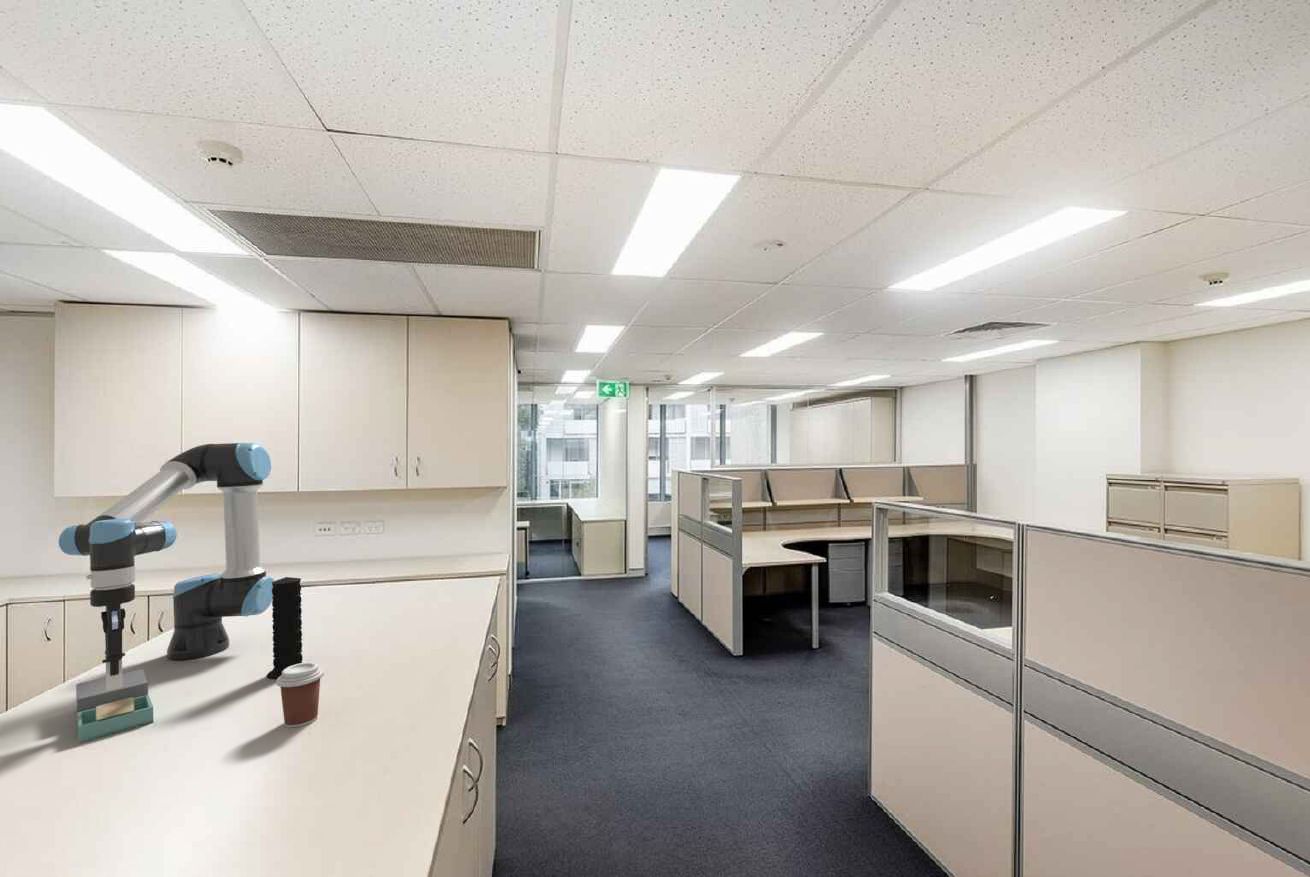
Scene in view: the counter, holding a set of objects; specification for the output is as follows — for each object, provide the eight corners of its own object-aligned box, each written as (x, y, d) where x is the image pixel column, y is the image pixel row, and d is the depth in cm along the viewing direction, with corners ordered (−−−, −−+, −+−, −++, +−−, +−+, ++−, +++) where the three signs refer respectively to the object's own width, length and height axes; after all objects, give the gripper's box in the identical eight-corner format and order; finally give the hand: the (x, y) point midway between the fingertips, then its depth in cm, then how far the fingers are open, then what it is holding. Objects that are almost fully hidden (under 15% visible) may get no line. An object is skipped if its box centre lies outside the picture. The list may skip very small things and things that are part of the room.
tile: (133, 696, 128) (134, 710, 127) (131, 705, 131) (132, 718, 130) (96, 706, 124) (96, 719, 123) (95, 715, 127) (96, 728, 126)
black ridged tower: (257, 678, 153) (288, 680, 151) (255, 581, 154) (286, 581, 152) (287, 664, 163) (317, 666, 161) (286, 572, 163) (315, 573, 161)
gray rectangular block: (142, 692, 146) (142, 669, 146) (148, 707, 137) (147, 682, 137) (76, 708, 137) (76, 684, 137) (77, 725, 128) (77, 699, 128)
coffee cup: (333, 714, 131) (332, 662, 131) (297, 733, 122) (296, 678, 122) (304, 709, 134) (303, 658, 134) (267, 727, 125) (266, 673, 125)
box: (148, 709, 136) (148, 694, 136) (153, 722, 129) (153, 707, 129) (77, 728, 127) (77, 712, 127) (78, 743, 120) (78, 726, 121)
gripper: (89, 585, 133) (90, 685, 133) (91, 593, 124) (92, 701, 124) (132, 579, 139) (133, 675, 138) (137, 587, 130) (138, 690, 129)
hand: (114, 687), depth 131 cm, fingers closed
